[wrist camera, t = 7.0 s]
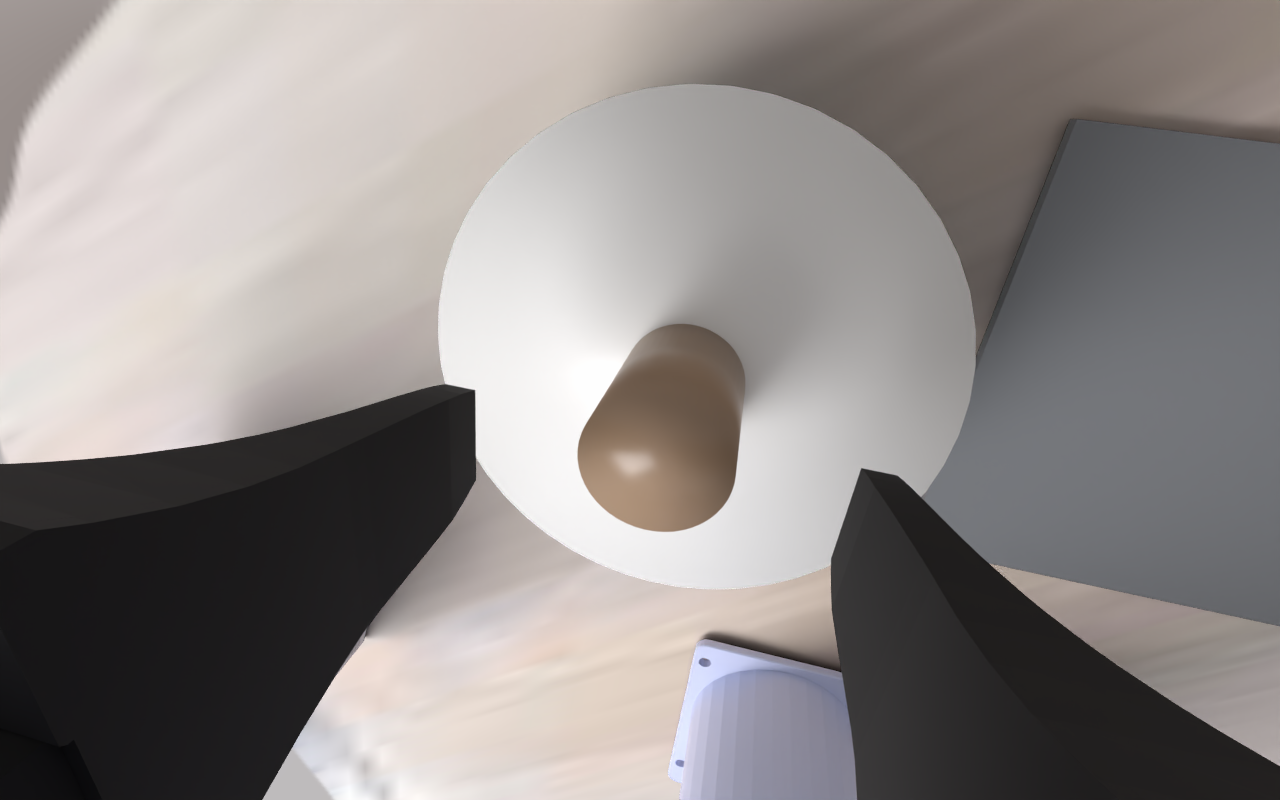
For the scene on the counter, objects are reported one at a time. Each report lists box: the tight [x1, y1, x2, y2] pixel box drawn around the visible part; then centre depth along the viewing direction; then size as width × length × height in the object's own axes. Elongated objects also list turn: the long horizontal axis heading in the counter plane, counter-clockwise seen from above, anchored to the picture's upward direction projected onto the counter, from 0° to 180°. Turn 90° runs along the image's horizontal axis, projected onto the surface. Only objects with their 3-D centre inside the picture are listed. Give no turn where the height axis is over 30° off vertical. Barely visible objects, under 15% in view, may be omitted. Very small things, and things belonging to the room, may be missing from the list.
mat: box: [921, 119, 1280, 626], centre depth 18 cm, size 14×14×1 cm
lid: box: [438, 84, 976, 589], centre depth 13 cm, size 13×13×5 cm
